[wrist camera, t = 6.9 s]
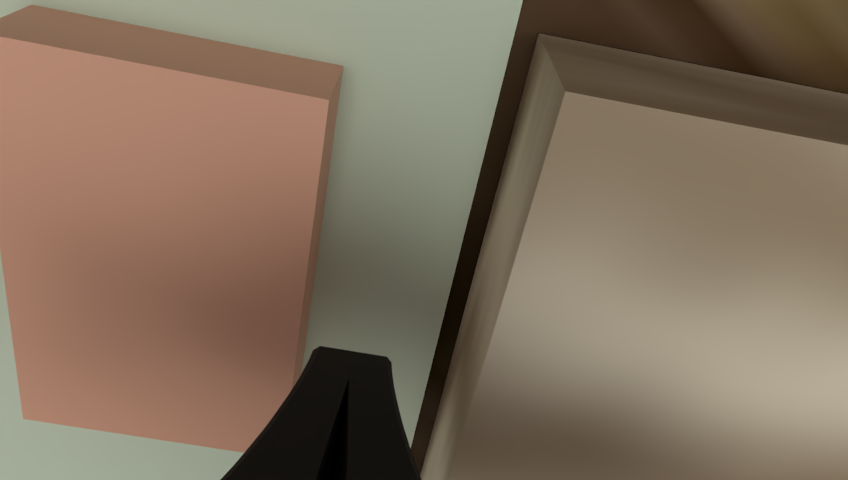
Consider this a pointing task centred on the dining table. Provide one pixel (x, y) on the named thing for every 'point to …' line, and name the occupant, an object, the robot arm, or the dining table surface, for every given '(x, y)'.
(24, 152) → the tile
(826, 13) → the dining table surface
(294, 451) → the robot arm
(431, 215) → the mat
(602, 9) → the dining table surface
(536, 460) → the deck
